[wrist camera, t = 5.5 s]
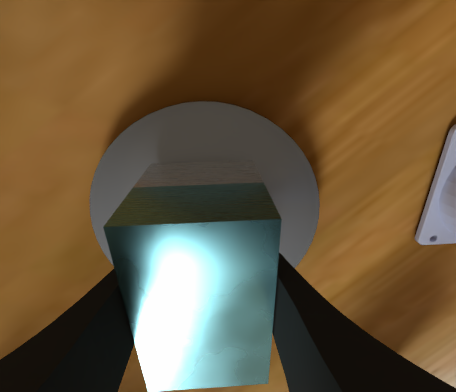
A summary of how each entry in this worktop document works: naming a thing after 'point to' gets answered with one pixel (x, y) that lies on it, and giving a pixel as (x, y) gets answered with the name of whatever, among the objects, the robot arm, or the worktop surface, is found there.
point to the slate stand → (211, 151)
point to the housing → (198, 273)
